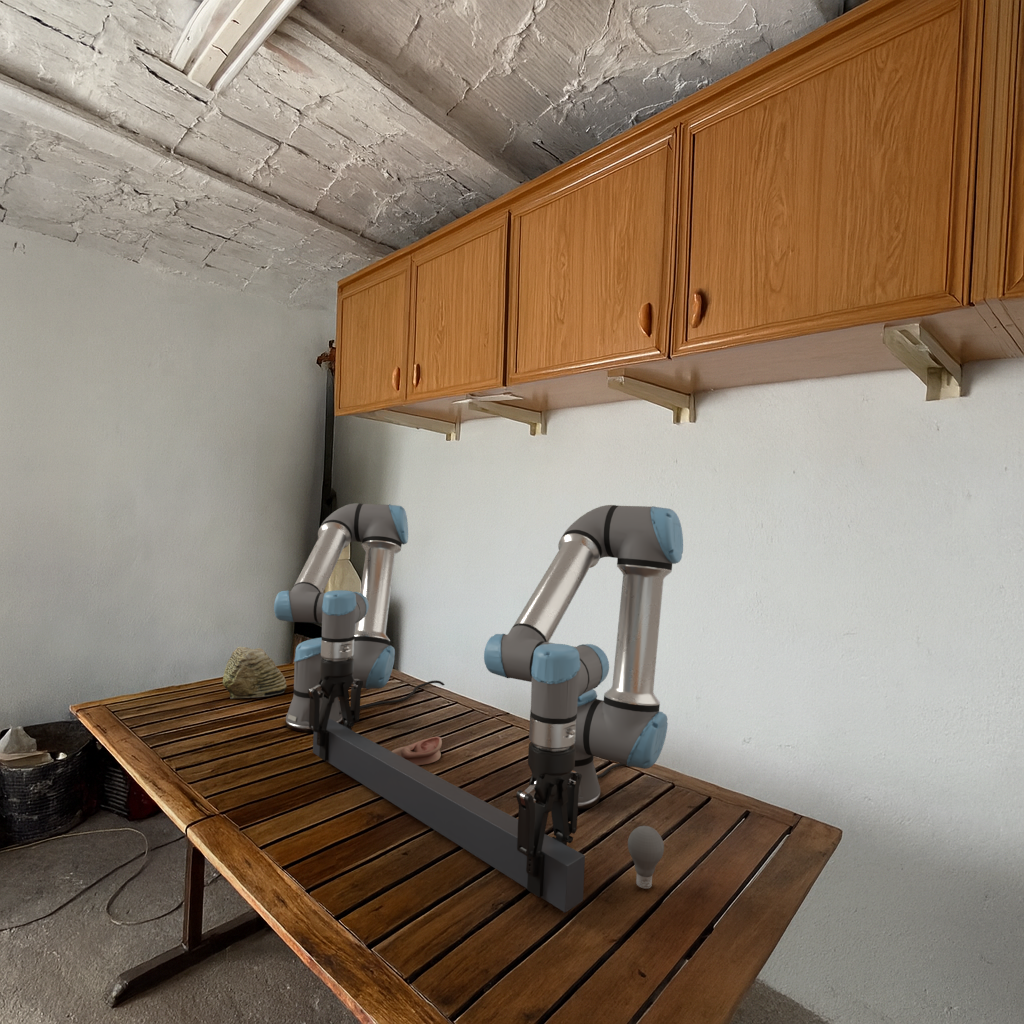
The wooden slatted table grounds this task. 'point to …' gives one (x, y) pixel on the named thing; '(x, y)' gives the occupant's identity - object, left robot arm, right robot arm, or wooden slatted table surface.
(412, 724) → the wooden slatted table surface
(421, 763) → the anatomical model
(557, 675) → the right robot arm
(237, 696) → the fossil
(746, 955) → the wooden slatted table surface
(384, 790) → the post
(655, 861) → the light bulb
